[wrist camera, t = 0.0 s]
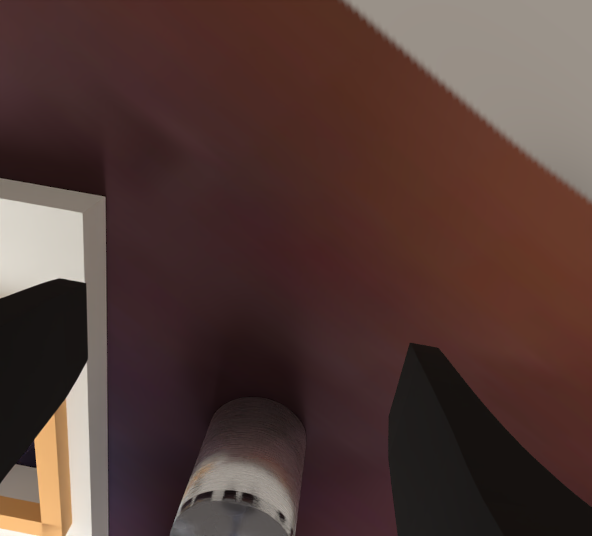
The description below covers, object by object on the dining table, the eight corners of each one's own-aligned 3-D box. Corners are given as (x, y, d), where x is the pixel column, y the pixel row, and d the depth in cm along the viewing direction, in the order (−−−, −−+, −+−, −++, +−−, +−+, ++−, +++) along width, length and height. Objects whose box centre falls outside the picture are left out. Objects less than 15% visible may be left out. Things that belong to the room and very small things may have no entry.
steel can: (298, 481, 27) (283, 599, 22) (205, 463, 27) (167, 576, 22) (313, 407, 25) (301, 517, 20) (213, 388, 25) (172, 492, 20)
